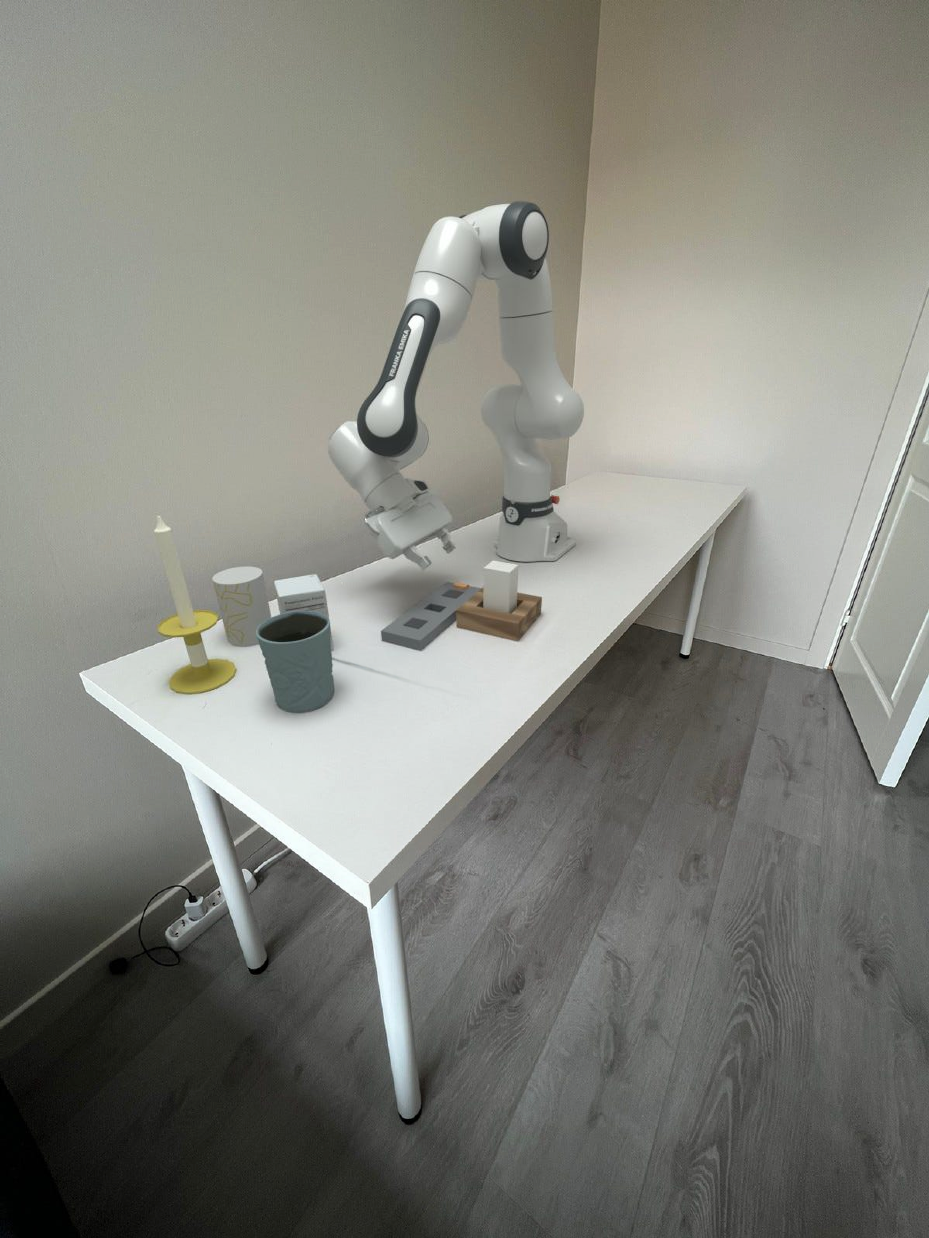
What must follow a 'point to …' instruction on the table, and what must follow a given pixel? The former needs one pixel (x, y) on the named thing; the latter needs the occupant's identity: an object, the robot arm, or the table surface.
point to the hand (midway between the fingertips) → (440, 558)
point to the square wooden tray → (499, 617)
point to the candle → (189, 627)
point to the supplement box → (302, 596)
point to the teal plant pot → (298, 659)
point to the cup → (242, 603)
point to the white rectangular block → (500, 586)
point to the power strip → (428, 616)
